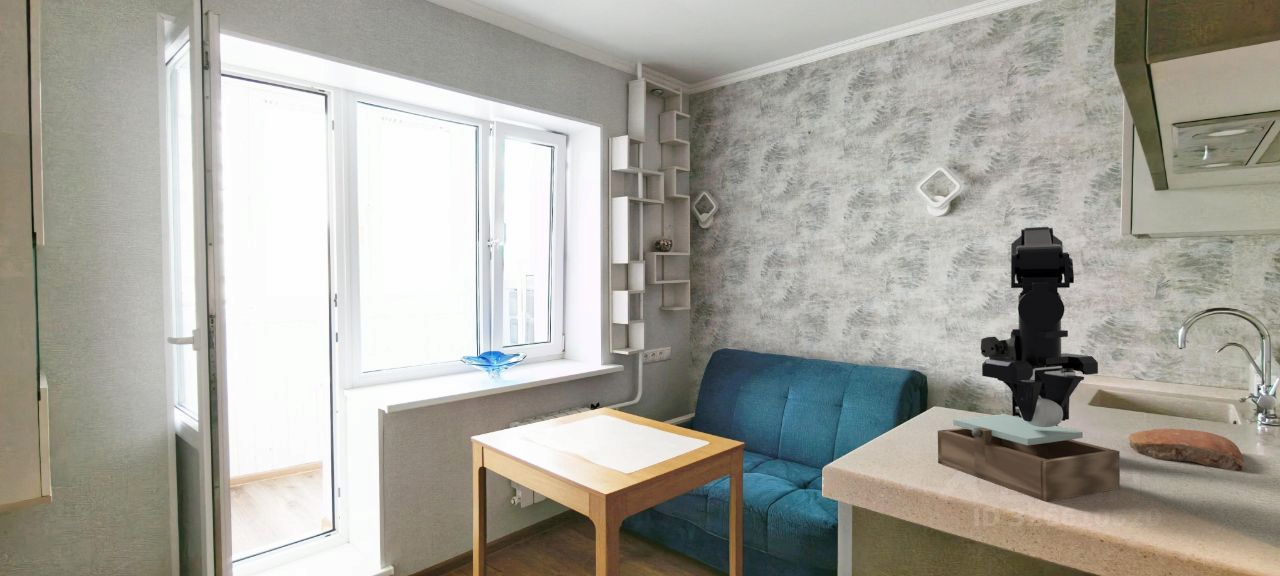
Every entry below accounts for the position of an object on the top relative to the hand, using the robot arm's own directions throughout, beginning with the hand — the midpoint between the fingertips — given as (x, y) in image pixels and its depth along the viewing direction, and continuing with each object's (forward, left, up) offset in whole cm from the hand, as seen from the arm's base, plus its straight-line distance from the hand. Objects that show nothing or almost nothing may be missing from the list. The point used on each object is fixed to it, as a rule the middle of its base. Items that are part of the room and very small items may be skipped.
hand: (1040, 419), depth 96 cm
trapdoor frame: (0, -3, -10) cm, 10 cm away
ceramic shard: (-37, -1, -11) cm, 39 cm away
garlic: (0, 0, -1) cm, 1 cm away
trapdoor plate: (0, -4, -3) cm, 5 cm away
